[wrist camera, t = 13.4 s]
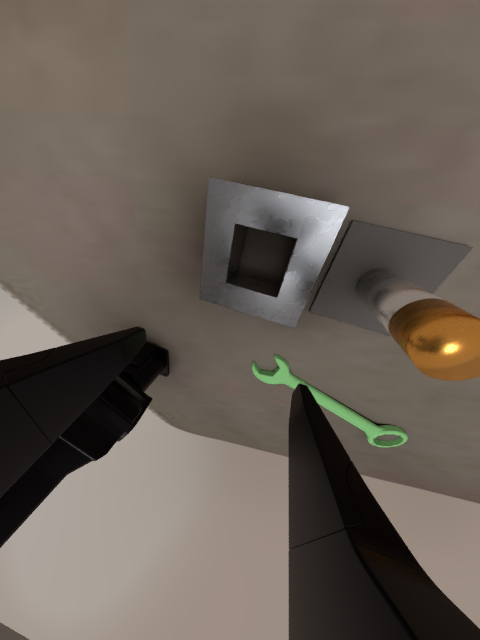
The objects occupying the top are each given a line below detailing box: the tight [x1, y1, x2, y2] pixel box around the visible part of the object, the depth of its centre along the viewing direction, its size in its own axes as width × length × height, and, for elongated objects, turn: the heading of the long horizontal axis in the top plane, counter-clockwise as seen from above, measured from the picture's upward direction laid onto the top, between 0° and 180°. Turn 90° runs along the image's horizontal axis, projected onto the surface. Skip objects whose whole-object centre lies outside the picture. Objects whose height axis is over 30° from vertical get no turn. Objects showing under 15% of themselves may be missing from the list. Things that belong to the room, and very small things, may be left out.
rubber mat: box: [309, 221, 473, 336], centre depth 16 cm, size 9×9×1 cm
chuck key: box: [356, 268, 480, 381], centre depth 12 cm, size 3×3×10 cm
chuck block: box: [200, 177, 349, 328], centre depth 16 cm, size 10×10×4 cm
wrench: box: [252, 354, 408, 447], centre depth 25 cm, size 25×2×5 cm
